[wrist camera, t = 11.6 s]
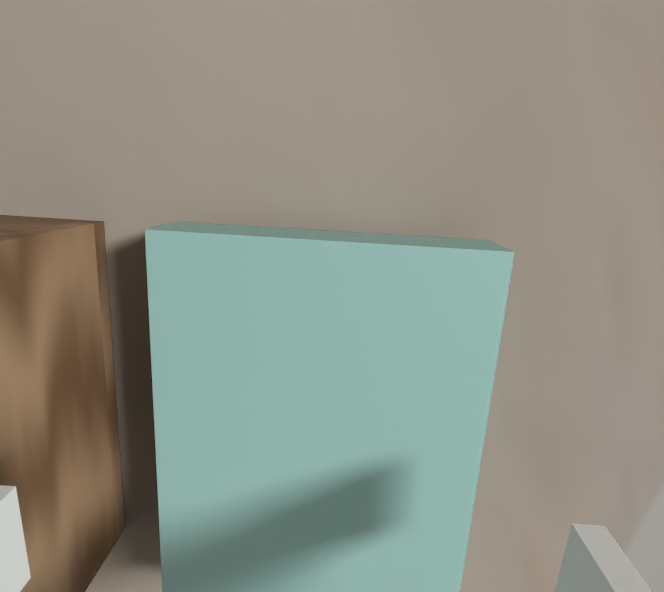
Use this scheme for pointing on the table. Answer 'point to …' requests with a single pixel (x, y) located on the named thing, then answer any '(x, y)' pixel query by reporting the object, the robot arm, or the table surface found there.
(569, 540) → the robot arm
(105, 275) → the crate
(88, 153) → the table surface
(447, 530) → the lid
